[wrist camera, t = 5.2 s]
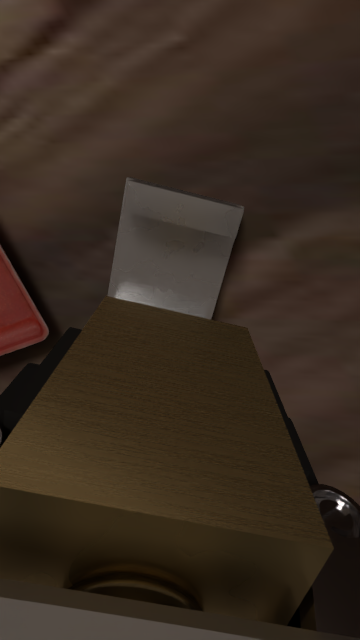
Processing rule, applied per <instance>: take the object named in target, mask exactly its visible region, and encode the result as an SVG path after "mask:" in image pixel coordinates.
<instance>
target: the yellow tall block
mask: <svg viewBox="0 0 360 640" xmlns="http://www.w3.org/2000/svg"><path fill="white" fill-rule="evenodd" d="M333 549H334V547H333V545H332V542H331V540H330V537H329V535H328V532H327V530H326V527H325V524H324V522H323V519H322V517H321V514H320V512H319V509H318V507H317V504H316V502H315V499H314V496H313V494H312V491H311V489H310V486H309V484H308V481H307V479H306V476H305V474H304V471H303V468H302V466H301V463H300V461H299V458H298V456H297V453H296V451H295V448H294V446H293V443H292V440H291V438H290V435H289V433H288V430H287V428H286V425H285V423H284V420H283V418H282V415H281V412H280V410H279V407H278V405H277V402H276V400H275V397H274V395H273V392H272V390H271V387H270V384H269V382H268V379H267V377H266V374H265V372H264V369H263V367H262V364H261V362H260V359H259V356H258V354H257V351H256V349H255V346H254V344H253V341H252V339H251V336H250V334H249V331H248V328H246V327H241V326H237V325H233V324H228V323H224V322H219V321H215V320H211V319H206V318H202V317H197V316H193V315H189V314H184V313H180V312H176V311H171V310H167V309H162V308H158V307H154V306H149V305H145V304H140V303H136V302H132V301H127V300H123V299H118V298H114V297H110V296H106V297H105V298H104V300H103V301H102V302H101V304H100V305H99V307H98V308H97V310H96V311H95V313H94V314H93V315H92V317H91V318H90V320H89V321H88V323H87V324H86V325H85V327H84V328H83V330H82V331H81V333H80V334H79V336H78V337H77V338H76V340H75V341H74V343H73V344H72V346H71V347H70V349H69V350H68V351H67V353H66V354H65V356H64V357H63V359H62V360H61V361H60V363H59V364H58V366H57V367H56V369H55V370H54V372H53V373H52V374H51V376H50V377H49V379H48V380H47V382H46V383H45V384H44V386H43V387H42V389H41V390H40V392H39V393H38V395H37V396H36V397H35V399H34V400H33V402H32V403H31V405H30V406H29V408H28V409H27V410H26V412H25V413H24V415H23V416H22V418H21V419H20V420H19V422H18V423H17V425H16V426H15V428H14V429H13V431H12V432H11V433H10V435H9V436H8V438H7V439H6V441H5V442H4V444H3V445H2V446H1V448H0V578H2V579H9V580H15V581H21V582H27V583H33V584H40V585H46V586H52V587H58V588H64V589H71V590H77V591H83V592H89V593H95V594H101V595H107V596H113V597H119V598H125V599H131V600H137V601H143V602H149V603H155V604H161V605H167V606H173V607H178V608H184V609H190V610H196V611H202V612H208V613H214V614H220V615H226V616H232V617H238V618H244V619H249V620H255V621H261V622H267V623H272V624H278V625H284V626H287V625H288V623H289V621H290V620H291V618H292V616H293V615H294V613H295V611H296V610H297V608H298V607H299V605H300V603H301V602H302V600H303V598H304V597H305V595H306V593H307V592H308V590H309V589H310V587H311V585H312V584H313V582H314V580H315V579H316V577H317V575H318V574H319V572H320V571H321V569H322V567H323V566H324V564H325V562H326V561H327V559H328V557H329V556H330V554H331V553H332V551H333Z"/></svg>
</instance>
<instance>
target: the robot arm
mask: <svg viewBox="0 0 360 640" xmlns="http://www.w3.org/2000/svg"><path fill="white" fill-rule="evenodd" d="M81 331H82V330H80V329H76V328H71V327H70V328H69V329H68V330H67V331H66V332H65V334H64V335H63V336H62V337H61V339H60V340H59V341H58V343H57V344H56V345H55V346H54V348H53V349H52V350H51V351H50V353H49V354H48V355H47V356H46V358H45V359H44V360H43V362H42V363H41V364H40V365H38V364H33V363H28V364H27V365H26V366H25V367H24V368H23V370H22V371H21V372H20V373H19V374H18V375H17V377H16V378H15V379H14V380H13V381H12V382H11V384H10V385H9V386H8V387H7V388H6V389H5V391H4V392H3V393H2V394H1V395H0V448H1V446H2V445H3V444H4V442H5V441H6V439H7V438H8V436H9V435H10V433H11V432H12V431H13V429H14V428H15V426H16V425H17V423H18V422H19V420H20V419H21V418H22V416H23V415H24V413H25V412H26V410H27V409H28V408H29V406H30V405H31V403H32V402H33V400H34V399H35V397H36V396H37V395H38V393H39V392H40V390H41V389H42V387H43V386H44V384H45V383H46V382H47V380H48V379H49V377H50V376H51V374H52V373H53V372H54V370H55V369H56V367H57V366H58V364H59V363H60V361H61V360H62V359H63V357H64V356H65V354H66V353H67V351H68V350H69V349H70V347H71V346H72V344H73V343H74V341H75V340H76V338H77V337H78V336H79V334H80V333H81ZM264 372H265V374H266V377H267V379H268V382H269V384H270V387H271V390H272V392H273V395H274V397H275V400H276V402H277V405H278V407H279V410H280V412H281V415H282V418H283V420H284V423H285V425H286V428H287V430H288V433H289V435H290V438H291V440H292V443H293V446H294V448H295V451H296V453H297V456H298V458H299V461H300V463H301V466H302V468H303V471H304V474H305V476H306V479H307V481H308V484H309V486H310V489H311V491H312V494H313V496H314V499H315V502H316V504H317V507H318V509H319V512H320V514H321V517H322V519H323V522H324V524H325V527H326V530H327V532H328V535H329V537H330V540H331V542H332V545H333V547H334V549H333V551H332V553H331V554H330V556H329V557H328V559H327V561H326V562H325V564H324V566H323V567H322V569H321V571H320V572H319V574H318V575H317V577H316V579H315V580H314V582H313V584H312V585H311V587H310V589H309V590H308V592H307V593H306V595H305V597H304V598H303V600H302V602H301V603H300V605H299V607H298V608H297V610H296V611H295V613H294V615H293V616H292V618H291V620H290V621H289V623H288V625H287V626H284V625H278V624H272V623H267V622H261V621H255V620H249V619H244V618H238V617H232V616H226V615H220V614H214V613H208V612H202V611H196V610H190V609H184V608H178V607H173V606H167V605H161V604H155V603H149V602H143V601H137V600H131V599H125V598H119V597H113V596H107V595H101V594H95V593H89V592H83V591H77V590H71V589H64V588H58V587H52V586H46V585H40V584H33V583H27V582H21V581H15V580H9V579H2V578H0V640H360V506H359V505H358V504H357V503H356V502H355V501H354V500H353V499H352V498H351V497H349V496H348V495H346V494H345V493H343V492H342V491H340V490H338V489H336V488H334V487H331V486H328V485H324V484H319V483H318V481H317V479H316V476H315V474H314V472H313V469H312V467H311V465H310V462H309V460H308V458H307V455H306V453H305V451H304V448H303V446H302V444H301V441H300V439H299V436H298V434H297V432H296V429H295V427H294V425H293V422H292V421H291V419H290V418H288V416H287V414H286V412H285V409H284V407H283V404H282V402H281V400H280V397H279V395H278V392H277V390H276V388H275V385H274V383H273V380H272V378H271V375H270V373H269V371H267V370H264Z"/></svg>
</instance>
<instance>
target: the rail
mask: <svg viewBox="0 0 360 640" xmlns="http://www.w3.org/2000/svg"><path fill="white" fill-rule="evenodd" d="M243 212H244V207H243V206H241V205H239V204H235V203H231V202H227V201H223V200H219V199H215V198H211V197H207V196H203V195H199V194H195V193H191V192H187V191H183V190H179V189H175V188H171V187H167V186H163V185H159V184H155V183H151V182H147V181H143V180H139V179H135V178H131V177H129V178H127V179H126V185H125V192H124V198H123V204H122V210H121V216H120V222H119V229H118V235H117V241H116V247H115V253H114V260H113V266H112V272H111V278H110V284H109V290H108V296H110V297H114V298H118V299H123V300H127V301H132V302H136V303H140V304H145V305H149V306H154V307H158V308H162V309H167V310H171V311H176V312H180V313H184V314H189V315H193V316H197V317H202V318H206V319H211V318H212V315H213V311H214V308H215V305H216V301H217V298H218V294H219V291H220V288H221V284H222V281H223V277H224V274H225V270H226V267H227V264H228V260H229V257H230V253H231V250H232V247H233V243H234V240H235V239H236V236H237V232H238V229H239V225H240V222H241V219H242V215H243Z"/></svg>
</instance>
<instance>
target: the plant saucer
mask: <svg viewBox="0 0 360 640" xmlns="http://www.w3.org/2000/svg"><path fill="white" fill-rule="evenodd" d="M48 335H49V330H48V327H47V325H46V323H45V321H44V320H43V318H42V316H41V314H40V313H39V311H38V309H37V307H36V306H35V304H34V302H33V300H32V299H31V297H30V295H29V293H28V292H27V290H26V288H25V286H24V285H23V283H22V281H21V279H20V278H19V276H18V274H17V272H16V271H15V269H14V267H13V265H12V264H11V262H10V260H9V258H8V257H7V255H6V253H5V251H4V250H3V248H2V246H1V244H0V356H2V355H4V354H7V353H11V352H13V351H16V350H19V349H22V348H25V347H28V346H30V345H33V344H36V343H38V342H41V341H43V340H45V339H46V338H47V336H48Z"/></svg>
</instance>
